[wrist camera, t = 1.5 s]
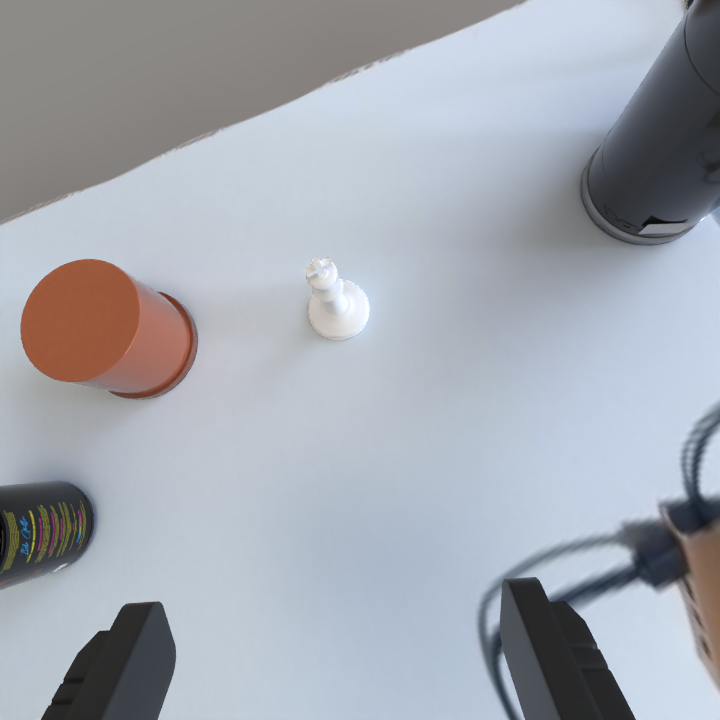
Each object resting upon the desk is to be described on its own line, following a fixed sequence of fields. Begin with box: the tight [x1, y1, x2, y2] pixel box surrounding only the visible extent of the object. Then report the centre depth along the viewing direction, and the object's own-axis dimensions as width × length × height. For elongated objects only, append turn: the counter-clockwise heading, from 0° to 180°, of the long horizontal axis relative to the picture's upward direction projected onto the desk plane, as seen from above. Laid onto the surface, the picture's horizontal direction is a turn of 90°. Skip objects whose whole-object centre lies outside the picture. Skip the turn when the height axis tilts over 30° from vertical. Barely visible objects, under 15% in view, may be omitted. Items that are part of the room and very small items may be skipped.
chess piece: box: [304, 257, 370, 340], centre depth 33 cm, size 5×5×10 cm
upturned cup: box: [21, 259, 198, 400], centre depth 35 cm, size 9×9×8 cm
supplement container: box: [0, 481, 94, 590], centre depth 32 cm, size 7×7×10 cm
